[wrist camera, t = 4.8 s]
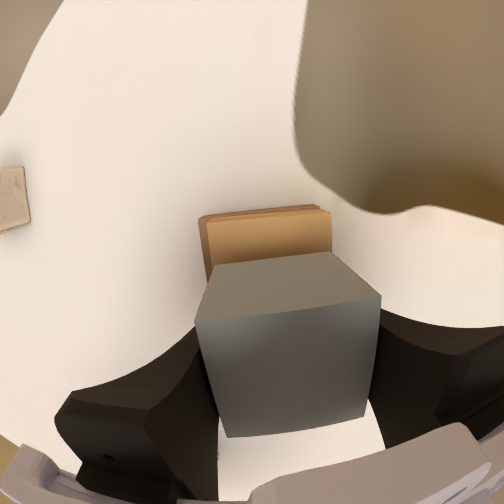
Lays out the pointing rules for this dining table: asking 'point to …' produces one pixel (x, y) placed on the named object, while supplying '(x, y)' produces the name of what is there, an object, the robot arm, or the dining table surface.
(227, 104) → the dining table surface
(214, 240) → the oak top block
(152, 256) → the dining table surface
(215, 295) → the slate cube
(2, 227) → the syrup box
